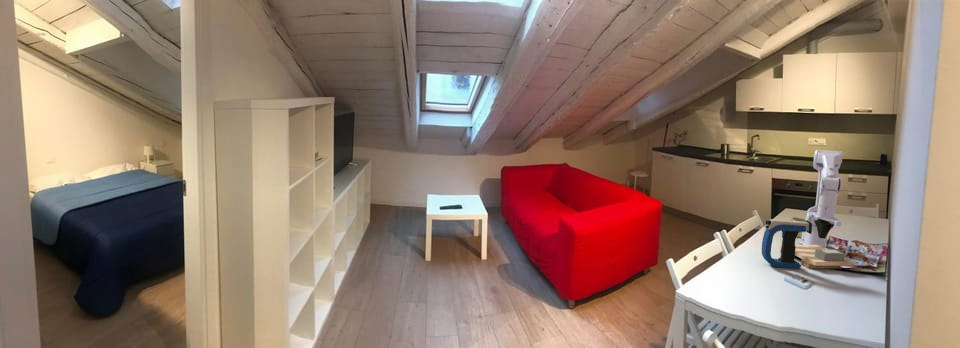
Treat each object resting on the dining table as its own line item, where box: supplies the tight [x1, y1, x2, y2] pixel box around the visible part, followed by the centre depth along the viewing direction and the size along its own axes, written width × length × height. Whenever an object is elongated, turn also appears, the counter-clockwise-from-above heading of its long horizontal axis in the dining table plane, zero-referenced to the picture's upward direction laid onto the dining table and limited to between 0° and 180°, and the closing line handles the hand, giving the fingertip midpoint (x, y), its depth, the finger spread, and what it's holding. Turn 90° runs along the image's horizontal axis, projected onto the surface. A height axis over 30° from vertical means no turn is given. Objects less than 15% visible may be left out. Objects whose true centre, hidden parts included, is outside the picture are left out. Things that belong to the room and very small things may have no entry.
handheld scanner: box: [761, 218, 812, 270], centre depth 181 cm, size 4×16×19 cm, turn 78°
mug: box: [789, 216, 806, 239], centre depth 221 cm, size 12×10×10 cm
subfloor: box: [779, 244, 856, 269], centre depth 189 cm, size 20×18×4 cm
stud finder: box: [815, 248, 846, 261], centre depth 182 cm, size 5×8×3 cm, turn 91°
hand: (822, 237), depth 190 cm, fingers closed
